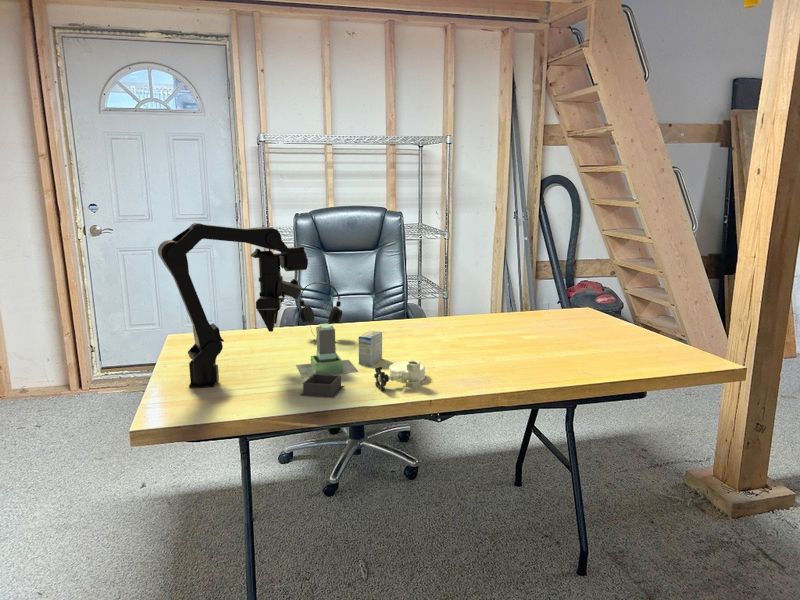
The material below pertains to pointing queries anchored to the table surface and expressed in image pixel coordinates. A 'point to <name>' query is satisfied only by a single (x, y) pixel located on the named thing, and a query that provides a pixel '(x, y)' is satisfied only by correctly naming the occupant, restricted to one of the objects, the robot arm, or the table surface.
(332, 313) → the headphones
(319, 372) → the port
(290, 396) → the table surface
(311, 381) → the box
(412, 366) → the valve
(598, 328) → the table surface
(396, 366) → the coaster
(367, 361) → the medicine box
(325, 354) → the plug
